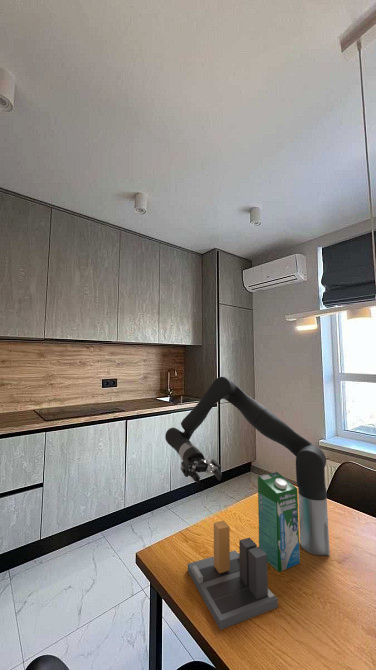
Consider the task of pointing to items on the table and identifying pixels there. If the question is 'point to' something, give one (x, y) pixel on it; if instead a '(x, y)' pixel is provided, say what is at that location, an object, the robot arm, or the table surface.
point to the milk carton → (278, 521)
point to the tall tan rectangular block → (221, 546)
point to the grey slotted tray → (235, 585)
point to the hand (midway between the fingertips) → (210, 479)
